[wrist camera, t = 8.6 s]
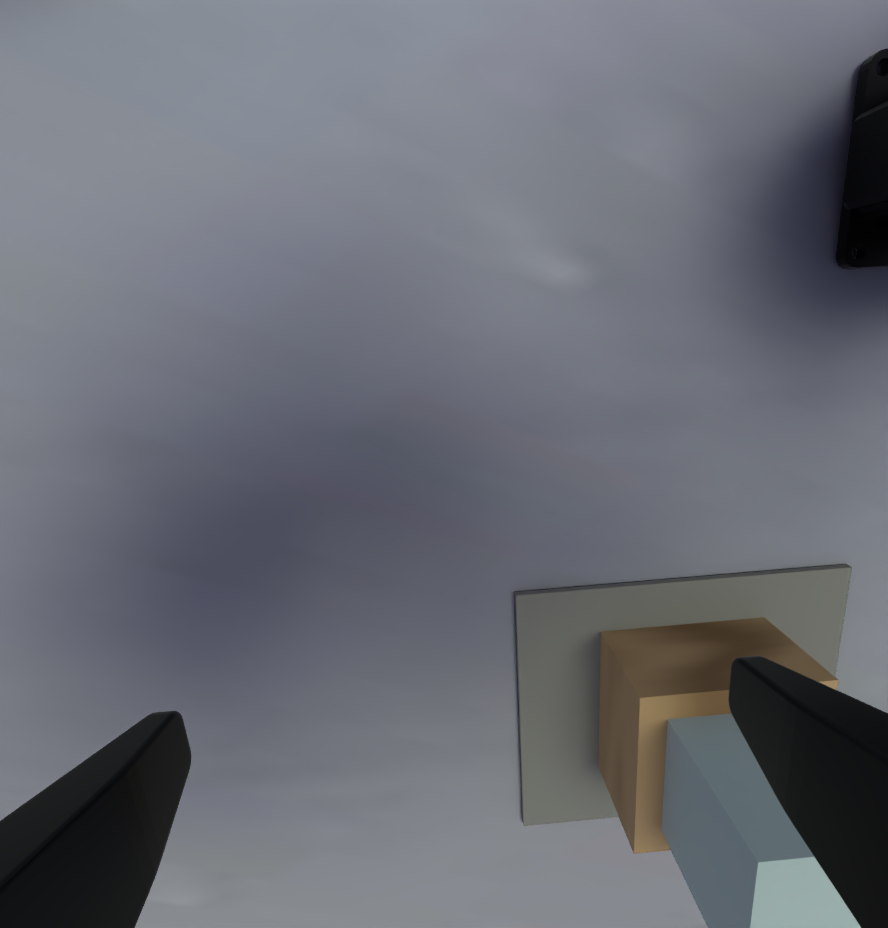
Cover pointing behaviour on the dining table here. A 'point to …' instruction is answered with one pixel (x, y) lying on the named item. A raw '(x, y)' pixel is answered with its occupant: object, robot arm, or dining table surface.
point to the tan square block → (671, 702)
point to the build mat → (628, 607)
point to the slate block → (739, 835)
